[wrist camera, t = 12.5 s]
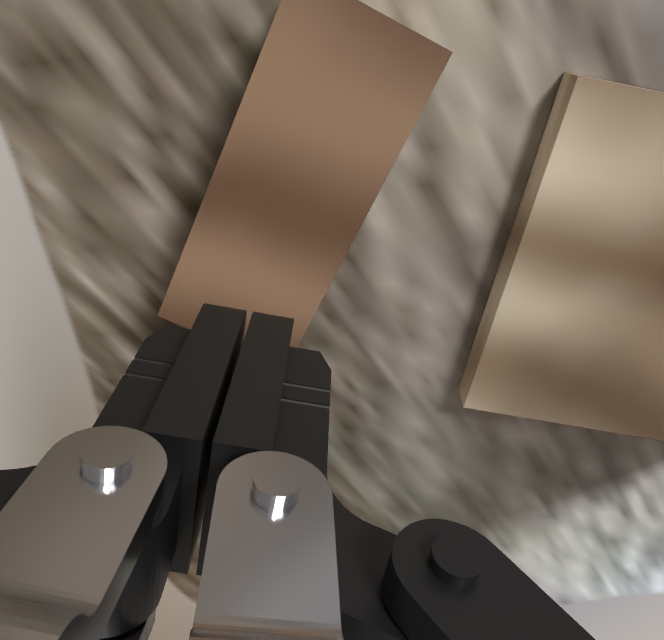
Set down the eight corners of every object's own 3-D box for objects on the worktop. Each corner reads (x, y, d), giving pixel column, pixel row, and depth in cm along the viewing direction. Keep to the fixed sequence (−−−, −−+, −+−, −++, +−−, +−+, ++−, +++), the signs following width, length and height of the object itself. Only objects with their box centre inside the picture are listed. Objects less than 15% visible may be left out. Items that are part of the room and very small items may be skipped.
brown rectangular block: (305, -27, 21) (294, -34, 17) (431, 42, 22) (452, 52, 18) (189, 263, 26) (157, 316, 22) (295, 309, 27) (285, 369, 23)
